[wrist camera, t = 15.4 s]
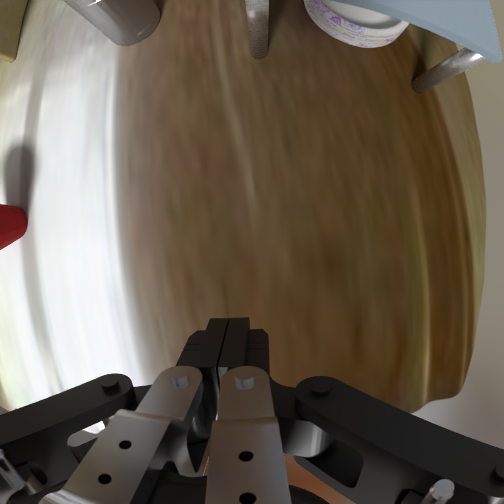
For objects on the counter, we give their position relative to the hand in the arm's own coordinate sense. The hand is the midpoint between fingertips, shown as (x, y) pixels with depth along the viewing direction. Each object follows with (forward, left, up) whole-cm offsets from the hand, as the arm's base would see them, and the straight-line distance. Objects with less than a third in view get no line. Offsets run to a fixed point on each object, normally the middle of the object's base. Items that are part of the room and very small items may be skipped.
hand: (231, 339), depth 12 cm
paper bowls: (-8, +36, -31) cm, 48 cm away
